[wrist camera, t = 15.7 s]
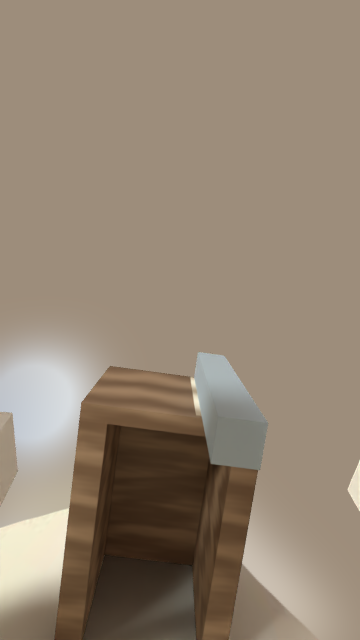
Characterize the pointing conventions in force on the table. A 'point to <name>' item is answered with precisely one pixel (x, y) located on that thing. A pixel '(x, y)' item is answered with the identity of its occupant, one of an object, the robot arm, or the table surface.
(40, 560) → the table surface
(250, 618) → the table surface
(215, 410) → the rod
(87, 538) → the shelf
